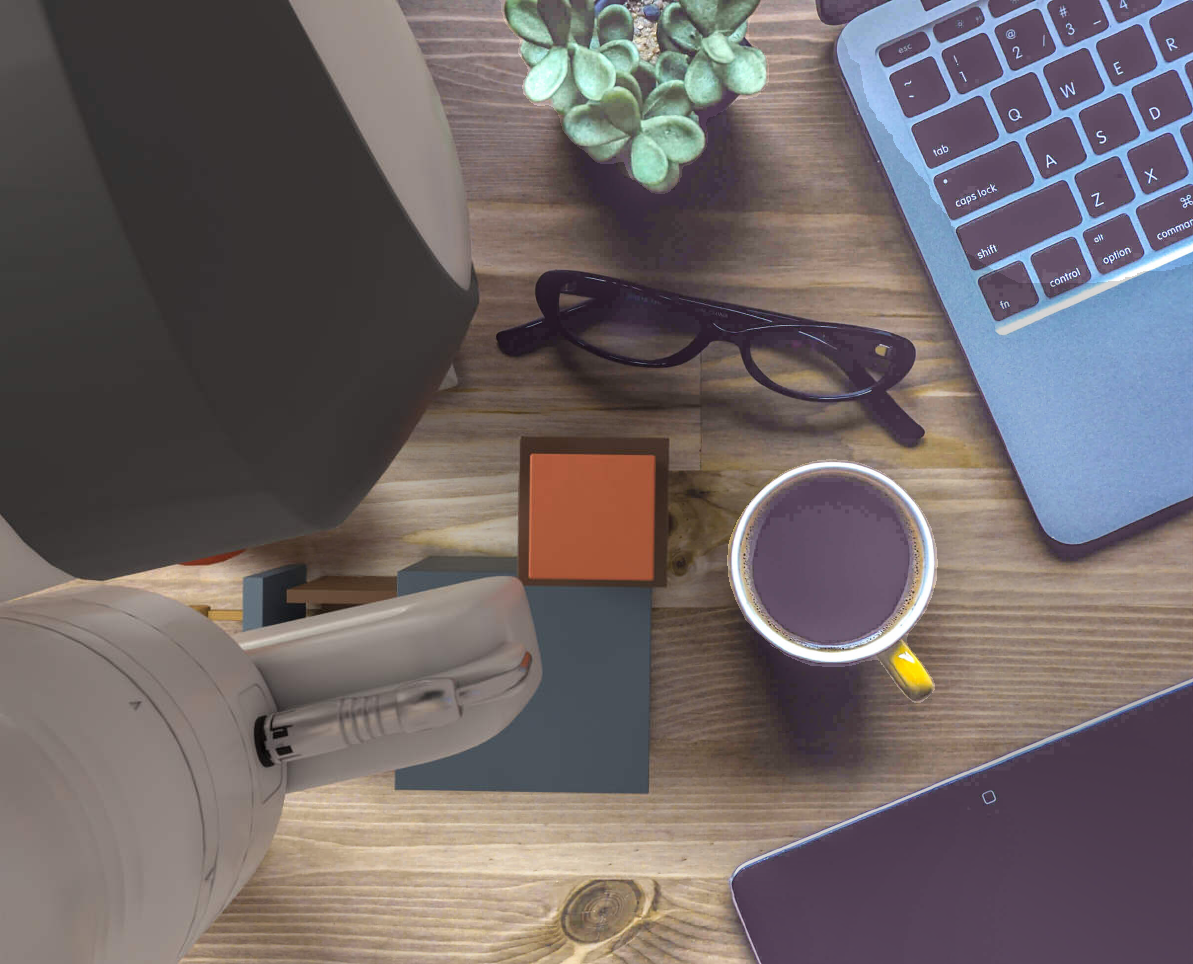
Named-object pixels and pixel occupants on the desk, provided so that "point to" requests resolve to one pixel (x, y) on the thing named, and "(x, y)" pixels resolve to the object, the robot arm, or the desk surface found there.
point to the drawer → (299, 595)
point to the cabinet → (558, 692)
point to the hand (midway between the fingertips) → (285, 658)
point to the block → (592, 517)
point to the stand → (595, 447)
